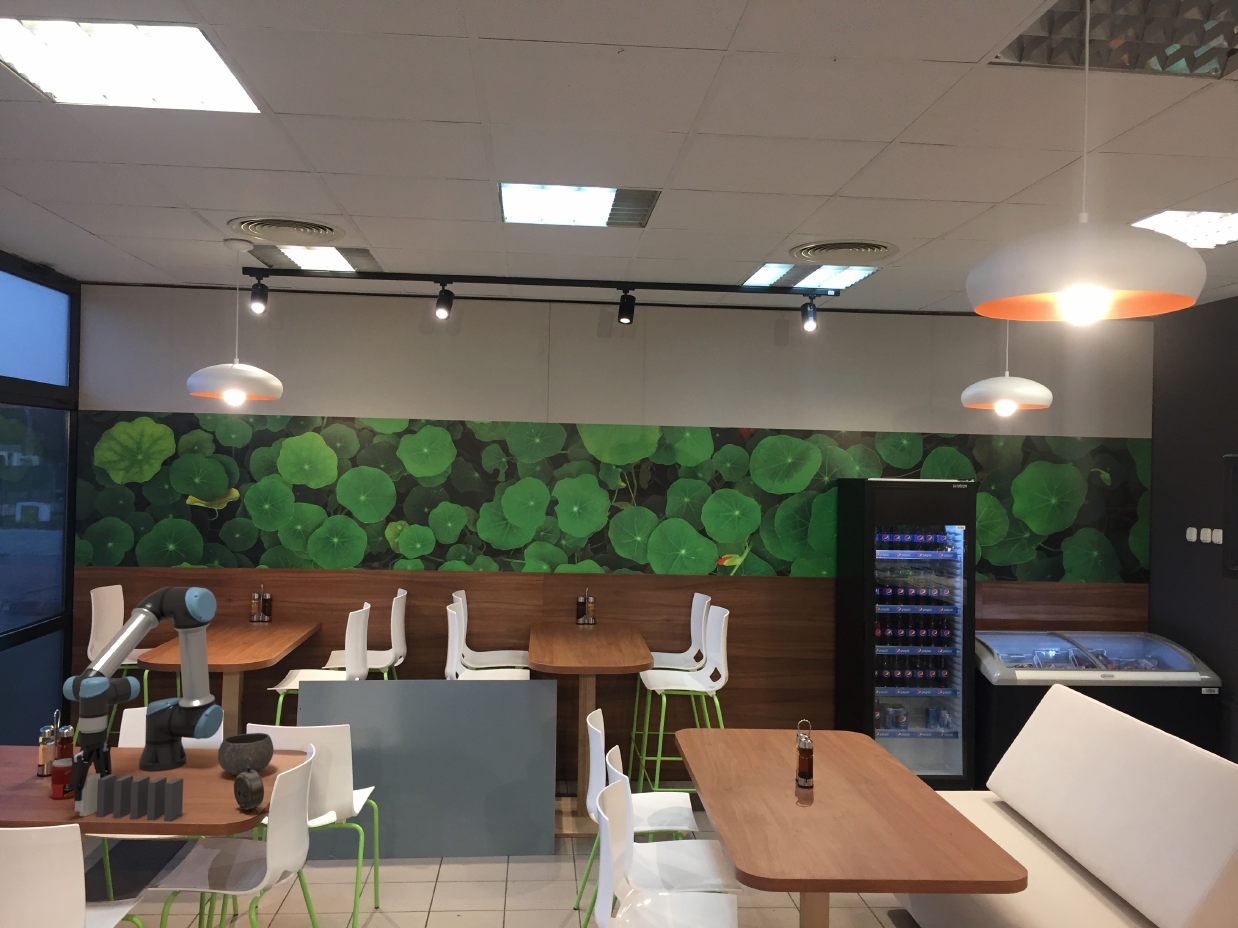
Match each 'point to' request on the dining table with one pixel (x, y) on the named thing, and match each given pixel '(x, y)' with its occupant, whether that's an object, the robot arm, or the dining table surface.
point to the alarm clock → (249, 789)
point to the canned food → (61, 779)
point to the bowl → (245, 752)
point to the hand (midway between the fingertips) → (89, 806)
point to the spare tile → (91, 794)
